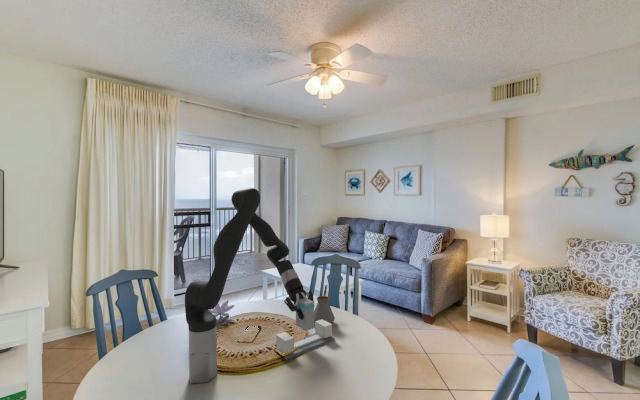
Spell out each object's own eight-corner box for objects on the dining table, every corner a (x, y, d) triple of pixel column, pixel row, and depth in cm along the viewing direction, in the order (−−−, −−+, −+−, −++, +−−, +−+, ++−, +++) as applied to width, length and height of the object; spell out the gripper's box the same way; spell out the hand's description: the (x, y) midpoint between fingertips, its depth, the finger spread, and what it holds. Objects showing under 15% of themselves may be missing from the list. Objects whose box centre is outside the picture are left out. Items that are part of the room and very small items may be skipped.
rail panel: (285, 360, 114) (285, 342, 114) (274, 350, 121) (274, 334, 121) (334, 340, 129) (334, 324, 129) (321, 332, 136) (321, 318, 136)
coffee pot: (333, 329, 140) (333, 298, 140) (309, 328, 141) (309, 297, 141) (337, 312, 161) (336, 284, 161) (316, 311, 162) (316, 284, 162)
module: (305, 331, 121) (305, 304, 121) (295, 325, 126) (295, 299, 126) (314, 327, 124) (314, 301, 124) (304, 322, 129) (304, 297, 129)
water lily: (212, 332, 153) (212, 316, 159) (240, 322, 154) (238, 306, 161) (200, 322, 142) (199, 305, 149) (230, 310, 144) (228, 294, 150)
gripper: (280, 280, 126) (297, 317, 117) (307, 274, 135) (324, 308, 126) (274, 289, 130) (290, 326, 121) (301, 283, 139) (317, 316, 130)
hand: (307, 316), depth 124 cm, fingers closed on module, 4 cm apart
